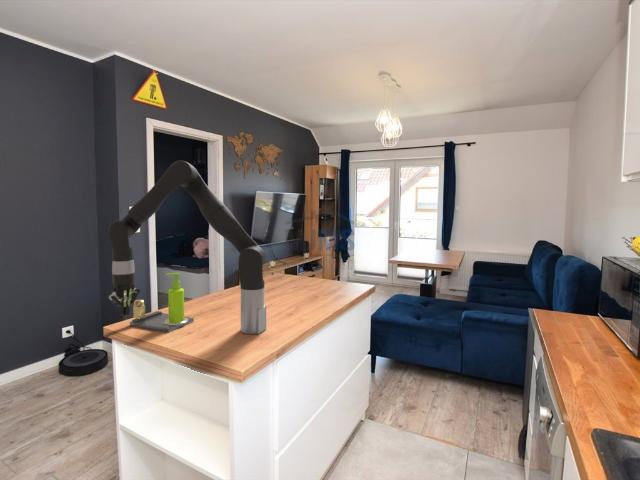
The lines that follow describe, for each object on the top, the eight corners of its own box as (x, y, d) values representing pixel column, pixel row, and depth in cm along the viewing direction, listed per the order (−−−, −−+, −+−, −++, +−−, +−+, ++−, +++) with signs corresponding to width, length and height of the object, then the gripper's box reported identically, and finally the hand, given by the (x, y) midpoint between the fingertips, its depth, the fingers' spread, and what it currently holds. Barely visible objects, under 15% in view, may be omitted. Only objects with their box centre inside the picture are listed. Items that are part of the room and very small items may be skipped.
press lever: (146, 316, 142) (145, 300, 141) (139, 319, 138) (138, 302, 138) (139, 315, 143) (139, 299, 142) (132, 318, 140) (131, 301, 139)
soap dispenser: (166, 319, 142) (165, 271, 140) (184, 318, 144) (183, 271, 142) (165, 324, 136) (164, 274, 134) (184, 322, 139) (183, 274, 137)
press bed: (195, 321, 145) (195, 316, 145) (170, 332, 132) (169, 327, 132) (157, 315, 152) (157, 310, 152) (129, 325, 139) (129, 319, 139)
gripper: (115, 275, 125) (116, 322, 127) (145, 269, 138) (146, 312, 139) (100, 274, 128) (102, 319, 129) (131, 268, 140) (132, 309, 142)
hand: (125, 315), depth 134 cm, fingers closed
